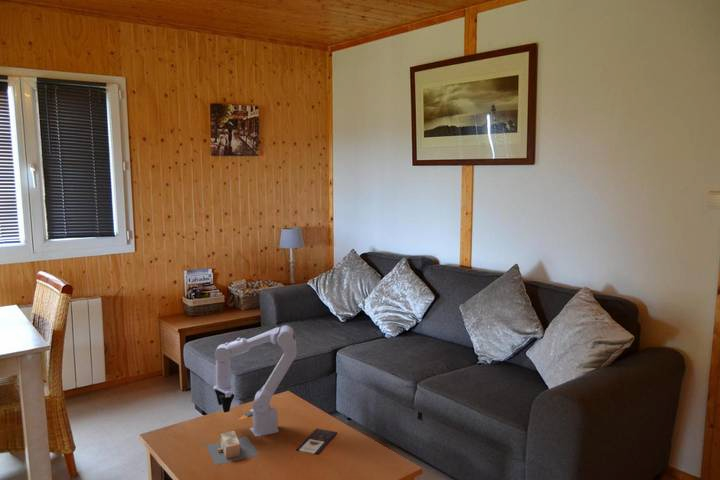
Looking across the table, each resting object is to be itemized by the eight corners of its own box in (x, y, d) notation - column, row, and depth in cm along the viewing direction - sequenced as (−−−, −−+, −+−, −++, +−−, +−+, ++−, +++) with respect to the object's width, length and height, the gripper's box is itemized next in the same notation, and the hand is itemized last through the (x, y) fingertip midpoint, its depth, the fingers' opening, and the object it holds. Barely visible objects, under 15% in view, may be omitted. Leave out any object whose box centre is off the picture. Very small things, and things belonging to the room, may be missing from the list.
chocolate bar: (337, 432, 227) (317, 453, 210) (337, 434, 227) (317, 455, 210) (316, 428, 230) (295, 449, 213) (316, 430, 230) (296, 451, 214)
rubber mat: (246, 437, 224) (246, 436, 224) (259, 455, 210) (259, 454, 210) (205, 446, 216) (205, 445, 216) (215, 466, 202) (215, 465, 202)
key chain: (252, 410, 249) (252, 407, 249) (259, 412, 247) (259, 409, 247) (232, 422, 238) (232, 419, 237) (239, 424, 236) (239, 421, 236)
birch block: (234, 430, 214) (240, 444, 208) (233, 441, 216) (239, 455, 209) (220, 433, 212) (226, 447, 205) (220, 444, 214) (226, 458, 207)
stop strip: (239, 446, 215) (238, 443, 215) (239, 448, 215) (239, 445, 214) (217, 451, 212) (217, 448, 212) (218, 453, 211) (218, 449, 211)
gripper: (208, 370, 229) (209, 402, 231) (217, 383, 216) (218, 417, 218) (226, 367, 232) (226, 399, 234) (236, 380, 219) (236, 413, 221)
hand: (223, 408), depth 226 cm, fingers open, 7 cm apart
